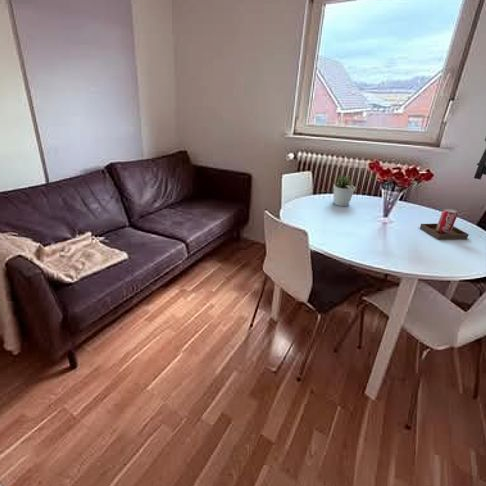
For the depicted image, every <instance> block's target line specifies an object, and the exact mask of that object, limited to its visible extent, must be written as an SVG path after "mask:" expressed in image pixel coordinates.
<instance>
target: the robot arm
mask: <svg viewBox="0 0 486 486" xmlns="http://www.w3.org/2000/svg"><path fill="white" fill-rule="evenodd" d="M484 141H485V142H486V137H484ZM476 166H477V168H476V171H475V173H474V176H473V179H475V180H482V177H483V175H484V176H486V148H485V149H484V151H483V153H482V154H481V157H480V159H479V161H478V162H477V163H476Z"/></svg>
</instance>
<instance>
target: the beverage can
mask: <svg viewBox="0 0 486 486" xmlns="http://www.w3.org/2000/svg"><path fill="white" fill-rule="evenodd" d="M457 217H458V211H457V210H456V209H453V208H445V209H444V210H442V211H441V214H440V216H439V220H438V221H437V222H438V223H437V224H438V225H437V228H436V230H437V231H438V232H439V233H442V234H449V233H451V231H452V228H453V226H454V225H455V222H456V220H457Z"/></svg>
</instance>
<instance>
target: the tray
mask: <svg viewBox="0 0 486 486" xmlns="http://www.w3.org/2000/svg"><path fill="white" fill-rule="evenodd" d="M437 225H438V223H420V226H419V229H420V230H422V231H423V232H425V233H426V234H428V235H430V236H431V237H433V238H435V239H436V240H438V241H439V240H467V239H468V238H469V235H470V234H469V233H467V232H465V231H464V230H462V229H460V228H458V227H456V226H454V225H453V228H452V231H451V233H449V234H442V233H439V232H438V231H437V230H436V228H437Z"/></svg>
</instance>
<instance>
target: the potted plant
mask: <svg viewBox="0 0 486 486" xmlns="http://www.w3.org/2000/svg"><path fill="white" fill-rule="evenodd" d="M350 177H351V175H350V174H349V175H348V176H345V174H340V175H338V178H337V177H336V179H337V180H336V183H335V182H333V181H331V183H332V185H333V204H334V205H336V206H340V207H347V206H349V204H350V202H351V200H352V197H353V195H354V192H355V191H356V186H354V184H355V182H354V181H351V179H350Z"/></svg>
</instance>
